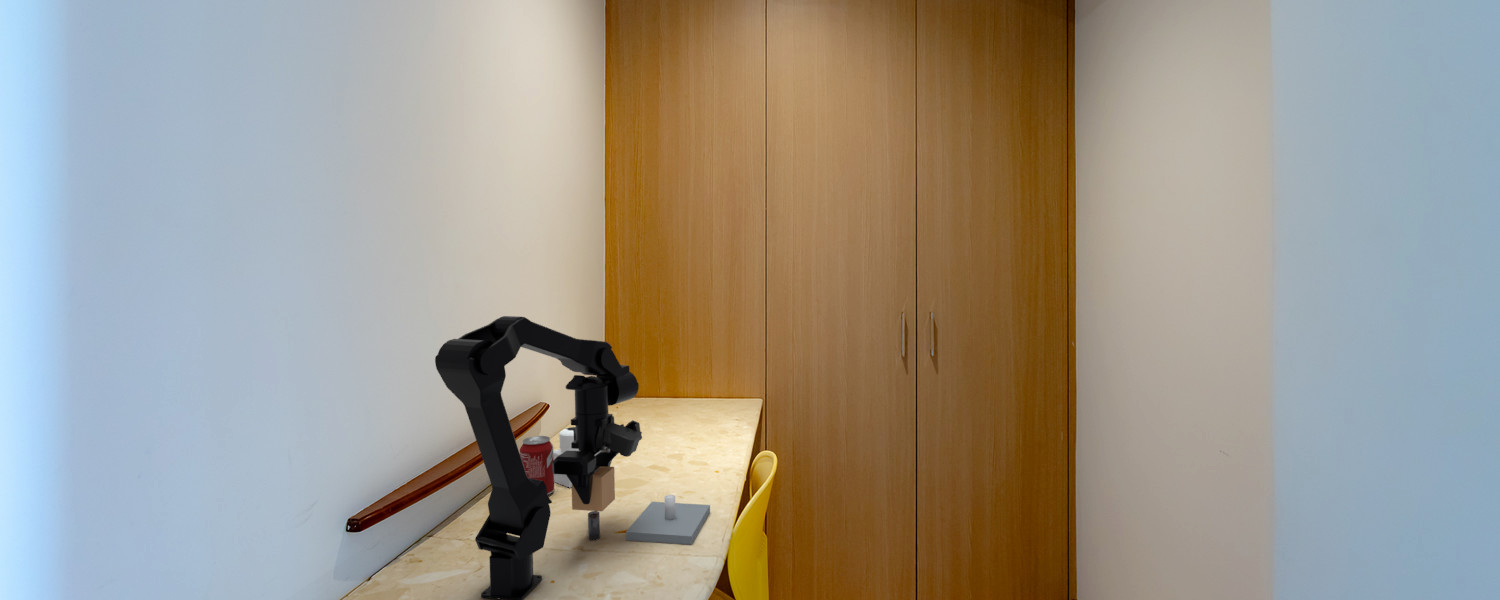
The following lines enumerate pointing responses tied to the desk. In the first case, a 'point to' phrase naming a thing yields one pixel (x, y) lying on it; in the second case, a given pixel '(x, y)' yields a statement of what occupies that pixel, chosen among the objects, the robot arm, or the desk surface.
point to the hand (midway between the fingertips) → (593, 497)
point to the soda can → (538, 460)
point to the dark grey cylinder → (594, 525)
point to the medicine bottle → (565, 445)
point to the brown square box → (597, 491)
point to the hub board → (669, 522)
